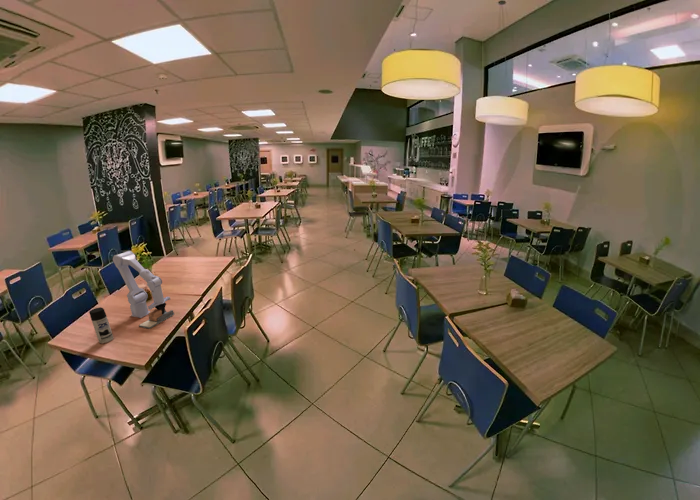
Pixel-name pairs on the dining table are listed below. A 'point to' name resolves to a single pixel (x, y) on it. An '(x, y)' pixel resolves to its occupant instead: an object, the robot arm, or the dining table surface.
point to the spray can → (101, 325)
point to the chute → (151, 324)
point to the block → (155, 314)
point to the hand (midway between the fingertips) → (162, 313)
